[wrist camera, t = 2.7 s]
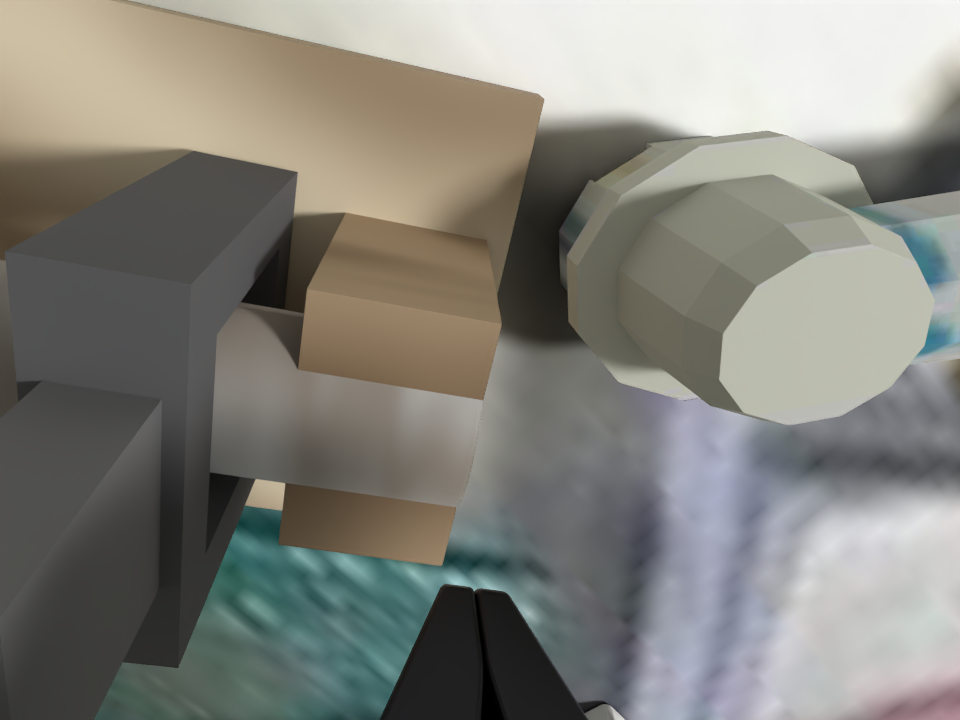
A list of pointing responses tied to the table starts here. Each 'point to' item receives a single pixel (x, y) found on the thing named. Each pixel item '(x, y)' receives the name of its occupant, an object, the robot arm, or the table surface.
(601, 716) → the ink cartridge box
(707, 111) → the table surface
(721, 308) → the grey piece
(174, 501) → the collar
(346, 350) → the pipe stand
